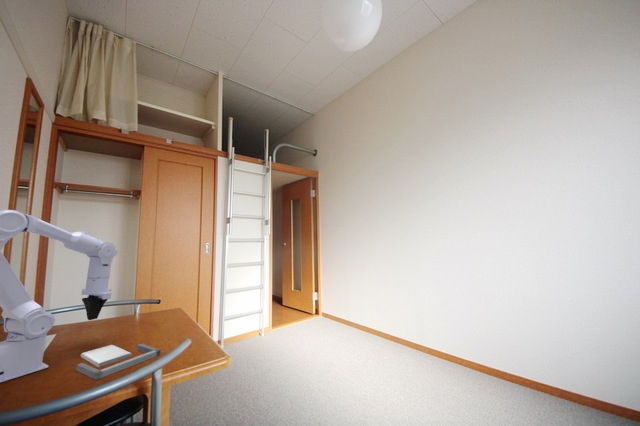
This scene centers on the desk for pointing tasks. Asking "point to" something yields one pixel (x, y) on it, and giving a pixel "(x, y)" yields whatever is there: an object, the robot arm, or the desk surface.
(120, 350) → the hard drive
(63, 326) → the desk surface
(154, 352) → the drive bay
